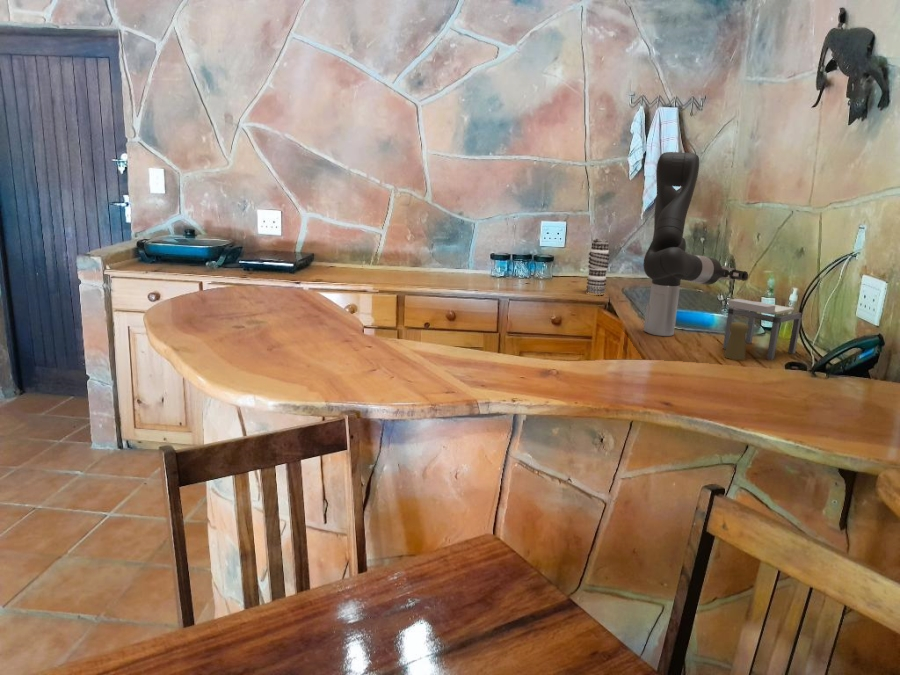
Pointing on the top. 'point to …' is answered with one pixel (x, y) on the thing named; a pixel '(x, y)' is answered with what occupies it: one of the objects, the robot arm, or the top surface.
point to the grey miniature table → (774, 331)
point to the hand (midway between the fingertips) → (732, 275)
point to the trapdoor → (759, 306)
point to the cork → (736, 341)
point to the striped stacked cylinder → (598, 266)
